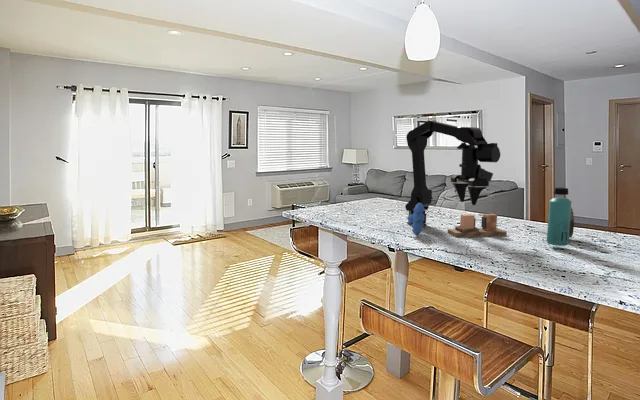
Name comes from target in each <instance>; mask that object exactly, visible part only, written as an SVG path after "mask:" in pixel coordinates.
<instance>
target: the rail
mask: <svg viewBox="0 0 640 400" xmlns="http://www.w3.org/2000/svg"><path fill="white" fill-rule="evenodd" d="M497 223H498V215H497V214H494V213H482V216H481V225H480V226H481V227H479V228H478V227H476V226H475V229H462V228H460V225H455V226H454V228H447V234H448V233H449V235H450V234H451V236H452V235H453V237H454V236H455V238H464V237H465V238H467V237H469V238H471V237H472V238H473V236H474V237H500V236H502V237H505V236H507V233H508V232H507V230H503V229H500V228H497Z"/></svg>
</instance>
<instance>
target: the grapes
mask: <svg viewBox="0 0 640 400" xmlns="http://www.w3.org/2000/svg"><path fill="white" fill-rule="evenodd" d="M424 210H425V209H424V207H423V205H422V204H421V203H418V204H417V205H416V206H415V208H414V209H413V211H414V213H413V214H411V215H409V214H408V216H407V217H406V219H407V222H408V221H409V222H410V223H413V224H412V225H410V227H411V228H412V230H411V231H412V233H413V235H415V236H418V235H420V234H422V233H423V227H424V223H423V221H424V220H425V219H424V217H425V215H424V214H423V213H422V212H423V211H424ZM425 211H426V210H425Z"/></svg>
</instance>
